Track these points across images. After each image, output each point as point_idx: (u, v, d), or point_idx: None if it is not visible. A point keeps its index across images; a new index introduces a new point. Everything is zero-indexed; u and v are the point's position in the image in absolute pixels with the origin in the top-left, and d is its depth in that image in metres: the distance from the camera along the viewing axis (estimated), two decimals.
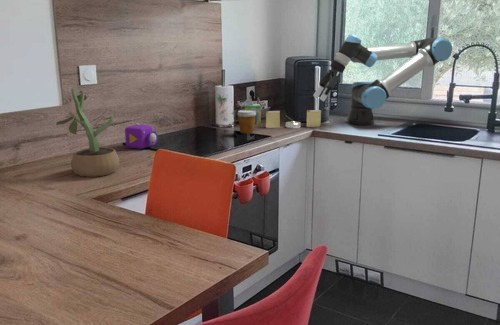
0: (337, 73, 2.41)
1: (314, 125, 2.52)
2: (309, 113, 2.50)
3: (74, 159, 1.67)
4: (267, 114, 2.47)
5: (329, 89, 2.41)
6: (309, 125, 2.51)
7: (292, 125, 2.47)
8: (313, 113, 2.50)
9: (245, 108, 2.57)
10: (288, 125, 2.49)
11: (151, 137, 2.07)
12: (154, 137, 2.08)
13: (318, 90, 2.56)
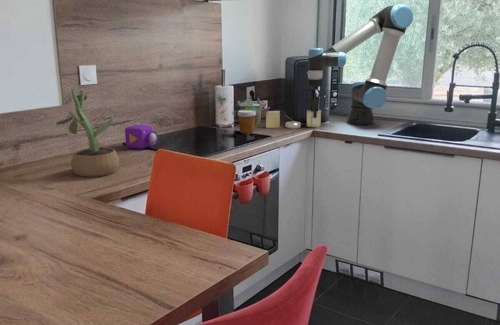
0: (317, 95, 2.42)
1: (314, 125, 2.52)
2: (309, 113, 2.50)
3: (74, 159, 1.67)
4: (267, 114, 2.47)
5: (315, 112, 2.48)
6: (309, 125, 2.51)
7: (292, 125, 2.47)
8: None
9: (245, 108, 2.57)
10: (288, 125, 2.49)
11: (151, 137, 2.07)
12: (154, 137, 2.08)
13: None
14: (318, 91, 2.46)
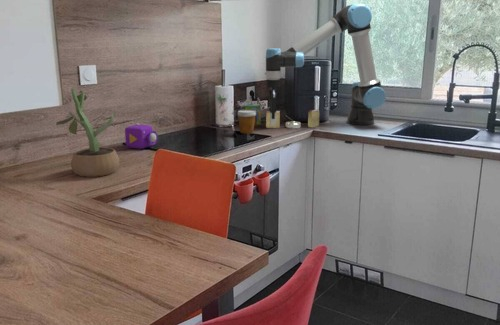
0: (273, 95, 2.40)
1: (315, 125, 2.52)
2: (312, 113, 2.48)
3: (74, 159, 1.67)
4: (267, 114, 2.47)
5: (273, 112, 2.45)
6: (312, 125, 2.50)
7: (292, 125, 2.47)
8: (315, 113, 2.50)
9: (245, 108, 2.57)
10: (288, 125, 2.49)
11: (151, 137, 2.07)
12: (154, 137, 2.08)
13: None
14: (276, 92, 2.44)
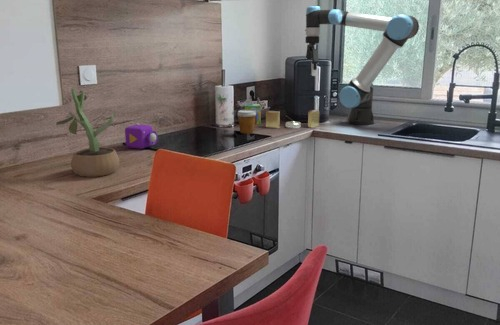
0: (314, 46, 2.56)
1: (315, 125, 2.52)
2: (312, 113, 2.48)
3: (74, 159, 1.67)
4: (266, 113, 2.49)
5: (315, 63, 2.56)
6: (312, 125, 2.50)
7: (292, 125, 2.47)
8: (315, 113, 2.50)
9: (245, 108, 2.57)
10: (288, 125, 2.49)
11: (151, 137, 2.07)
12: (154, 137, 2.08)
13: None
14: None
